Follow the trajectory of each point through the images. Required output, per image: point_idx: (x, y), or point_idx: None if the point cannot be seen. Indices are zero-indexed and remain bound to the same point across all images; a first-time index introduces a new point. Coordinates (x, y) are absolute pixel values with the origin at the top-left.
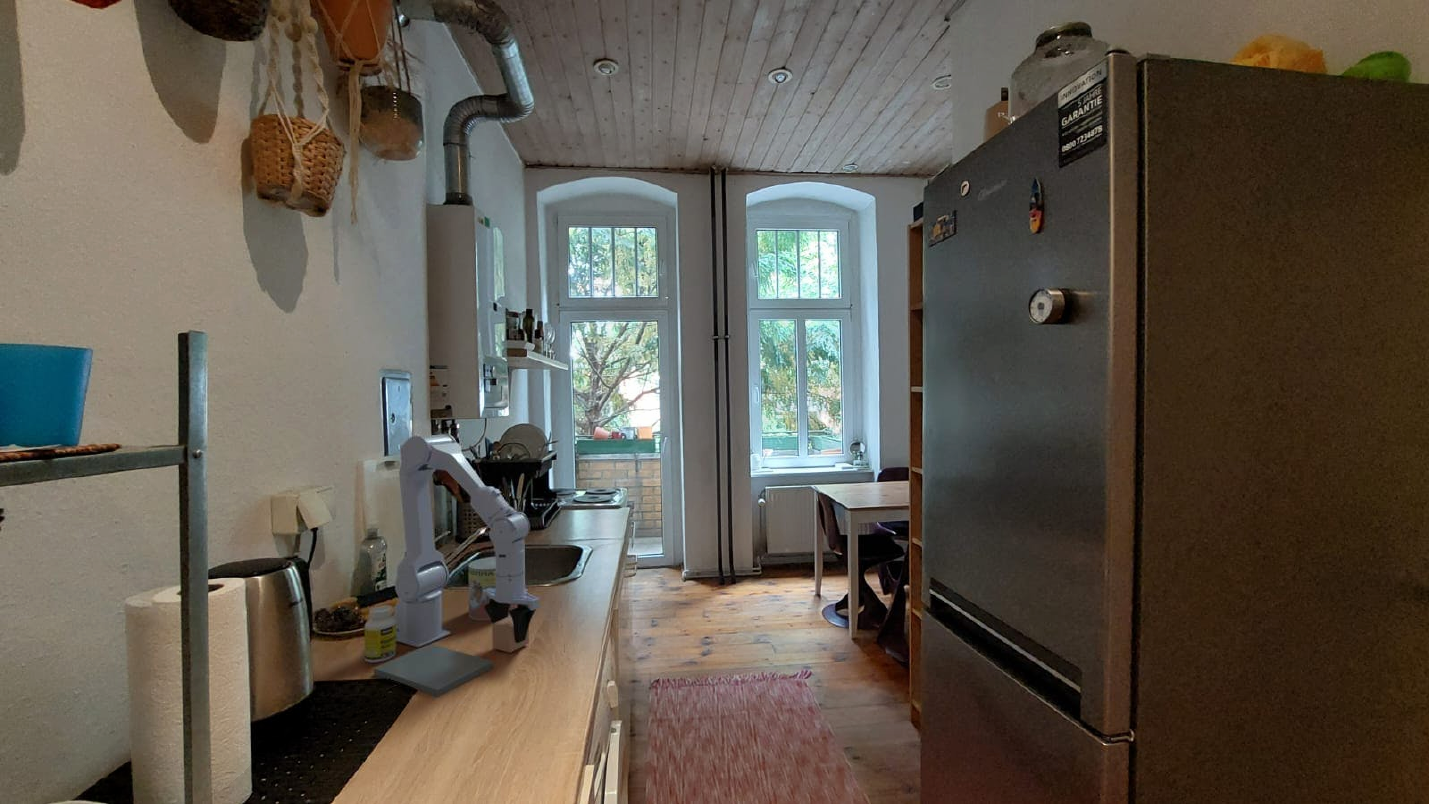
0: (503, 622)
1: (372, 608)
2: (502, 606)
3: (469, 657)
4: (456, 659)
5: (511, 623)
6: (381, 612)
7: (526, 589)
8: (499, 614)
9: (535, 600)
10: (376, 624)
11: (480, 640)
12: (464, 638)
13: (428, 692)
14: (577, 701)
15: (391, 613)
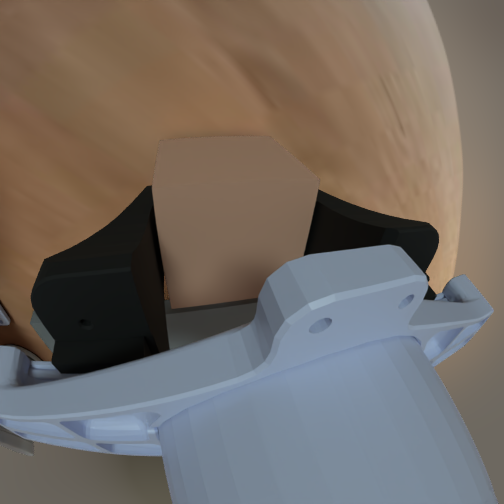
0: (212, 278)
1: (7, 448)
2: (154, 316)
3: (194, 319)
4: (176, 337)
5: (263, 263)
6: (33, 453)
7: (415, 295)
8: (160, 298)
9: (474, 331)
10: None
11: (51, 207)
12: (5, 229)
13: None
14: (448, 266)
15: (18, 437)
